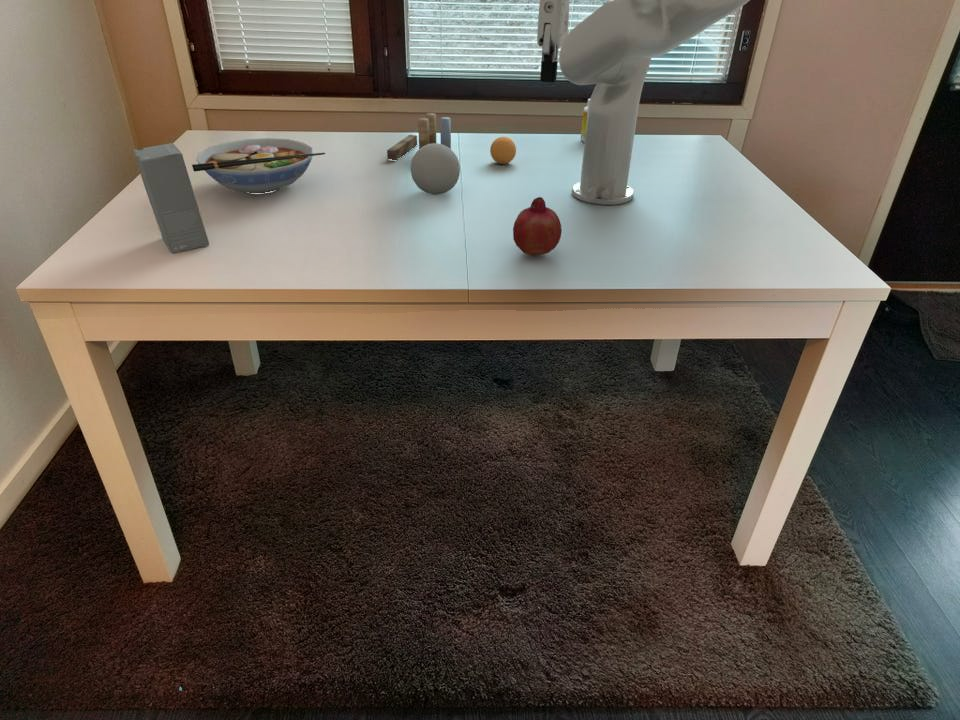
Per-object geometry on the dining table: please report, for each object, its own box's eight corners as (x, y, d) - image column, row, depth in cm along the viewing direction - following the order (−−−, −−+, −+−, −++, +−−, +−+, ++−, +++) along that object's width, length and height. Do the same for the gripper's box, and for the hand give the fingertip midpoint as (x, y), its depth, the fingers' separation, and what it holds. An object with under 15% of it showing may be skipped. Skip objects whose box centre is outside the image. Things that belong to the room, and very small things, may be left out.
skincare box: (210, 246, 110) (188, 153, 101) (166, 255, 107) (139, 159, 98) (199, 229, 116) (177, 140, 107) (156, 238, 112) (130, 146, 104)
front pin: (449, 159, 152) (448, 120, 147) (439, 158, 153) (438, 119, 148) (452, 156, 154) (451, 117, 149) (442, 155, 155) (442, 116, 150)
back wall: (395, 161, 150) (395, 151, 149) (387, 160, 151) (387, 150, 149) (417, 145, 161) (416, 135, 160) (409, 144, 162) (409, 134, 161)
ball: (448, 182, 139) (447, 135, 133) (468, 197, 131) (468, 147, 126) (404, 189, 135) (402, 140, 129) (422, 204, 128) (420, 154, 122)
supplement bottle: (593, 145, 164) (598, 103, 158) (576, 140, 167) (580, 99, 162) (606, 141, 168) (611, 99, 162) (588, 136, 171) (593, 96, 165)
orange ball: (512, 168, 147) (513, 141, 144) (486, 165, 149) (487, 139, 145) (518, 161, 152) (519, 135, 149) (493, 158, 154) (494, 132, 150)
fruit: (557, 267, 105) (563, 208, 100) (508, 262, 106) (511, 204, 101) (560, 246, 112) (565, 190, 106) (514, 243, 113) (517, 187, 107)
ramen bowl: (309, 166, 147) (304, 129, 142) (336, 198, 130) (331, 157, 125) (193, 180, 138) (183, 141, 133) (205, 216, 121) (194, 173, 116)
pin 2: (434, 154, 155) (433, 115, 150) (425, 153, 156) (424, 115, 151) (438, 151, 157) (437, 113, 152) (428, 151, 158) (427, 112, 153)
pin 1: (427, 160, 151) (426, 121, 146) (418, 159, 152) (416, 120, 147) (431, 157, 153) (429, 118, 148) (421, 156, 154) (420, 117, 149)
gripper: (567, -14, 121) (559, 89, 131) (580, -20, 133) (571, 76, 143) (528, -16, 123) (523, 87, 133) (544, -21, 135) (538, 73, 145)
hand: (548, 81), depth 138 cm, fingers closed
